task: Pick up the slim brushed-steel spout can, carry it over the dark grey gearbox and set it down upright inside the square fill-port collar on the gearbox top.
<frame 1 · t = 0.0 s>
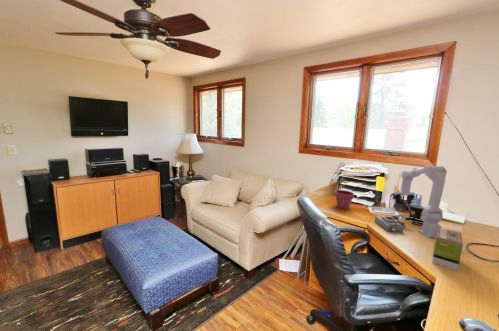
hand: (403, 204, 175), 10 cm above the table, fingers open, 7 cm apart
plant pot: (342, 207, 194), on the table
gearbox: (387, 226, 159), on the table
spout can: (400, 225, 161), on the table
coffee mug: (413, 218, 175), on the table
tea box: (444, 261, 119), on the table
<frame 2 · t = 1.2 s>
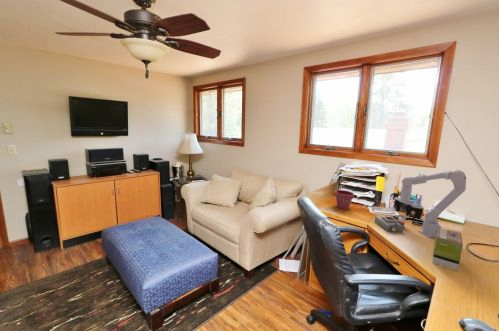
hand: (402, 213, 159), 9 cm above the table, fingers open, 7 cm apart
nothing on the table moved.
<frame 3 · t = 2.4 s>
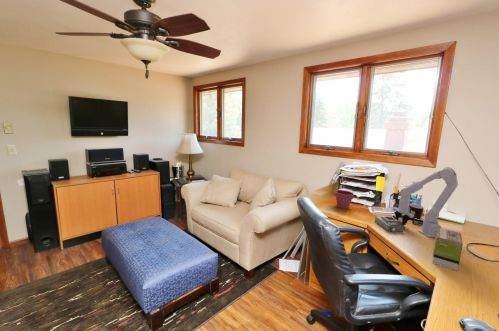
hand: (401, 223, 160), 2 cm above the table, fingers closed on spout can, 4 cm apart
spout can: (400, 225, 161), on the table, touching gripper
everything else where it was.
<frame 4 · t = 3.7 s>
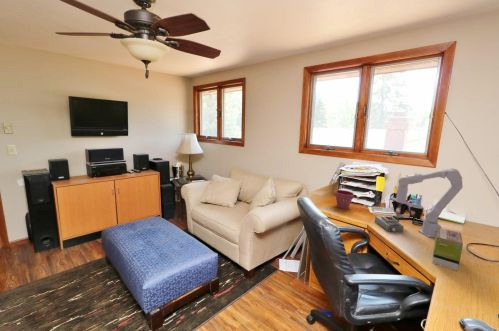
hand: (398, 213, 159), 9 cm above the table, fingers closed on spout can, 4 cm apart
spout can: (398, 216, 159), point 7 cm above the table, touching gripper
everything else where it was.
when the fingers open (6 cm above the table, at t = 5.1 s): spout can stays where it is, resting on gearbox.
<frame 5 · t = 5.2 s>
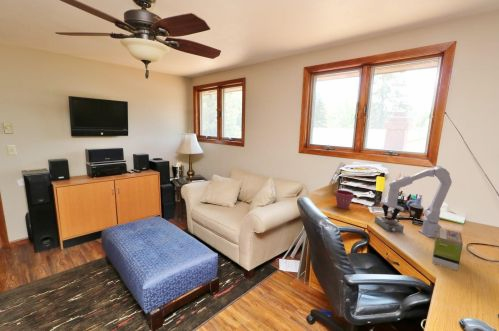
hand: (389, 217, 159), 6 cm above the table, fingers open, 5 cm apart
spout can: (389, 220, 159), point 4 cm above the table, touching gearbox
everything else where it was.
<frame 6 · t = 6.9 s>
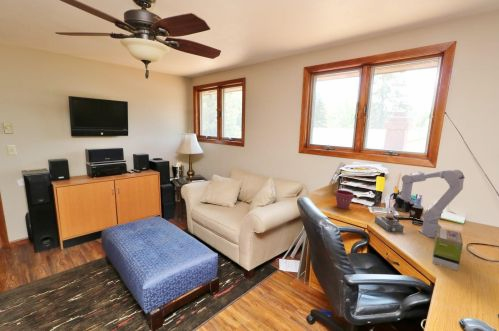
hand: (403, 210, 163), 10 cm above the table, fingers open, 7 cm apart
nothing on the table moved.
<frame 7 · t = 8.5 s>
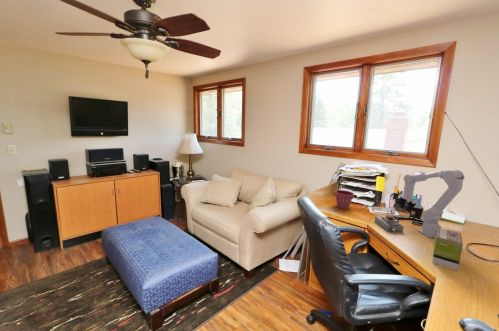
hand: (405, 209, 164), 10 cm above the table, fingers open, 7 cm apart
nothing on the table moved.
at the end: spout can 0.1 cm from the target spot on the gearbox, point 4.1 cm above the gearbox's base; spout can tilted 0°; the gripper is holding nothing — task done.
